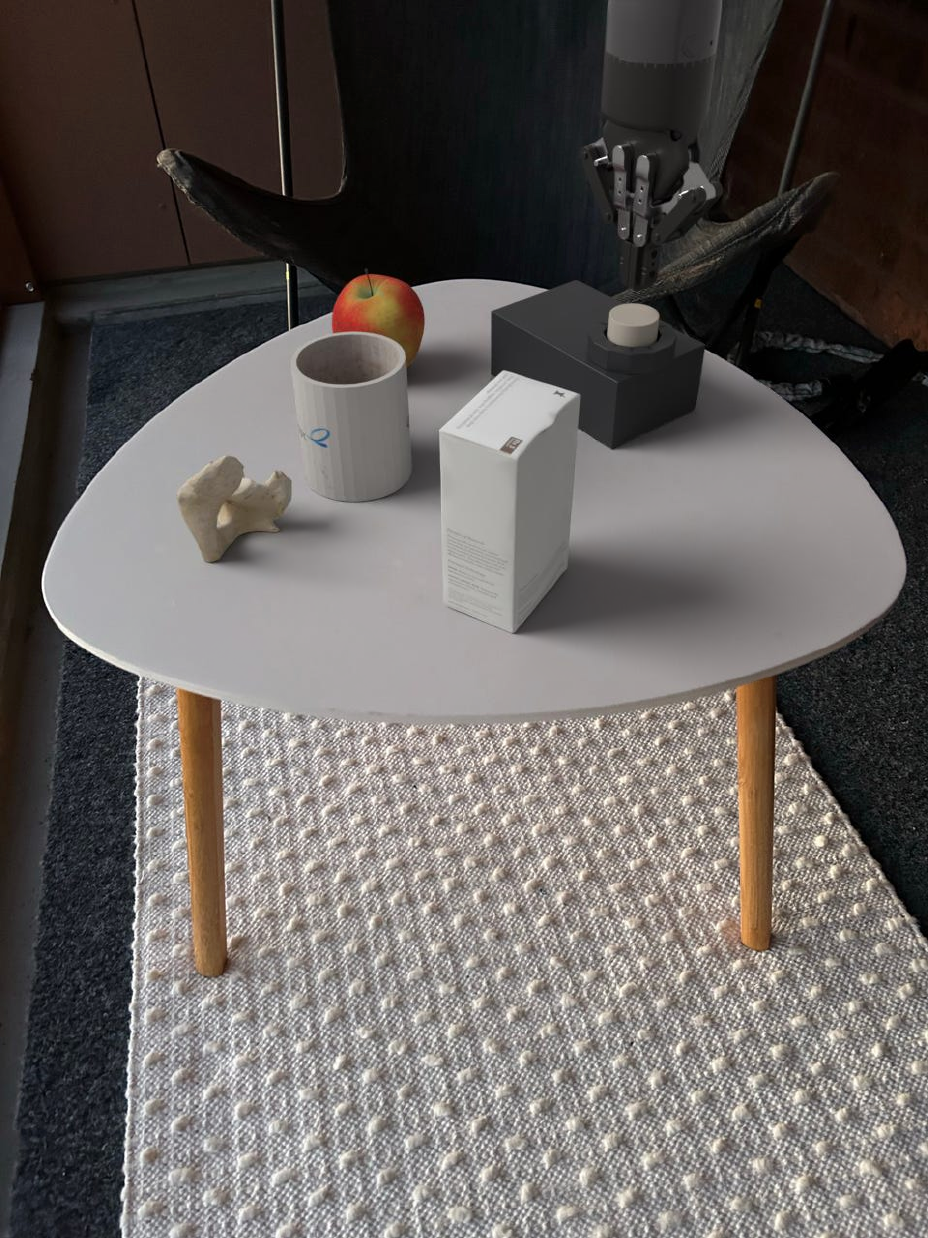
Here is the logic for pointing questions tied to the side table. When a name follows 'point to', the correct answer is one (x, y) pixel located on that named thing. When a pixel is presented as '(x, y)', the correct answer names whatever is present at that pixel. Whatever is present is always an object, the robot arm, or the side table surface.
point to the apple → (381, 311)
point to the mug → (353, 415)
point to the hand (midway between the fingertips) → (637, 285)
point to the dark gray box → (597, 361)
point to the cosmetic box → (507, 497)
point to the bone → (230, 504)
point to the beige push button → (633, 325)
